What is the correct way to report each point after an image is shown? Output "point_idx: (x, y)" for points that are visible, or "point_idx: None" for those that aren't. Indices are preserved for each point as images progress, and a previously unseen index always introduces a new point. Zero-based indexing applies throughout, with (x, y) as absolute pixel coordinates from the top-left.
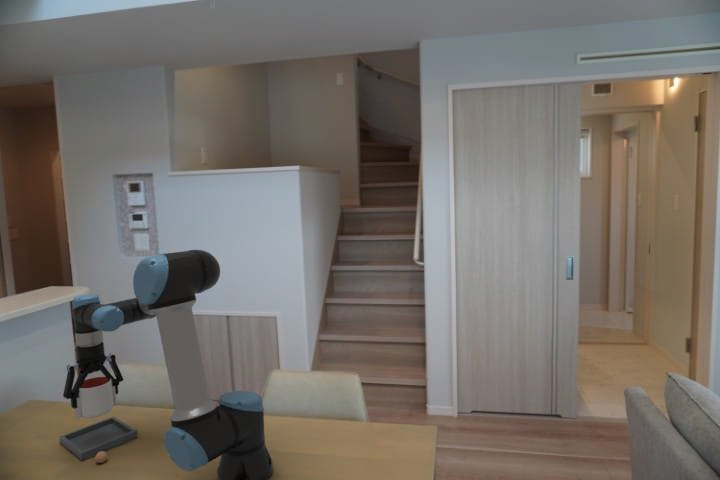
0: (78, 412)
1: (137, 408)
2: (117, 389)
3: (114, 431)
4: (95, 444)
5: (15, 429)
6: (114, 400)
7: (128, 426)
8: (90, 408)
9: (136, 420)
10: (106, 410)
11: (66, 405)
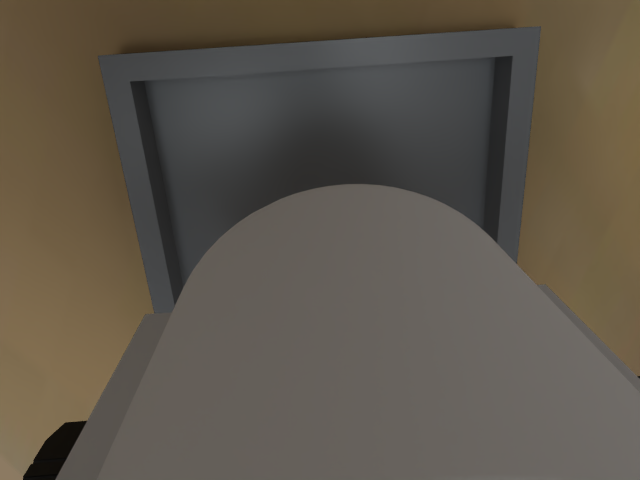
0: (580, 325)
1: (20, 453)
2: (31, 477)
3: None
4: (374, 170)
5: None
6: (147, 350)
7: (134, 186)
8: (504, 253)
9: (62, 313)
10: (301, 193)
11: None
